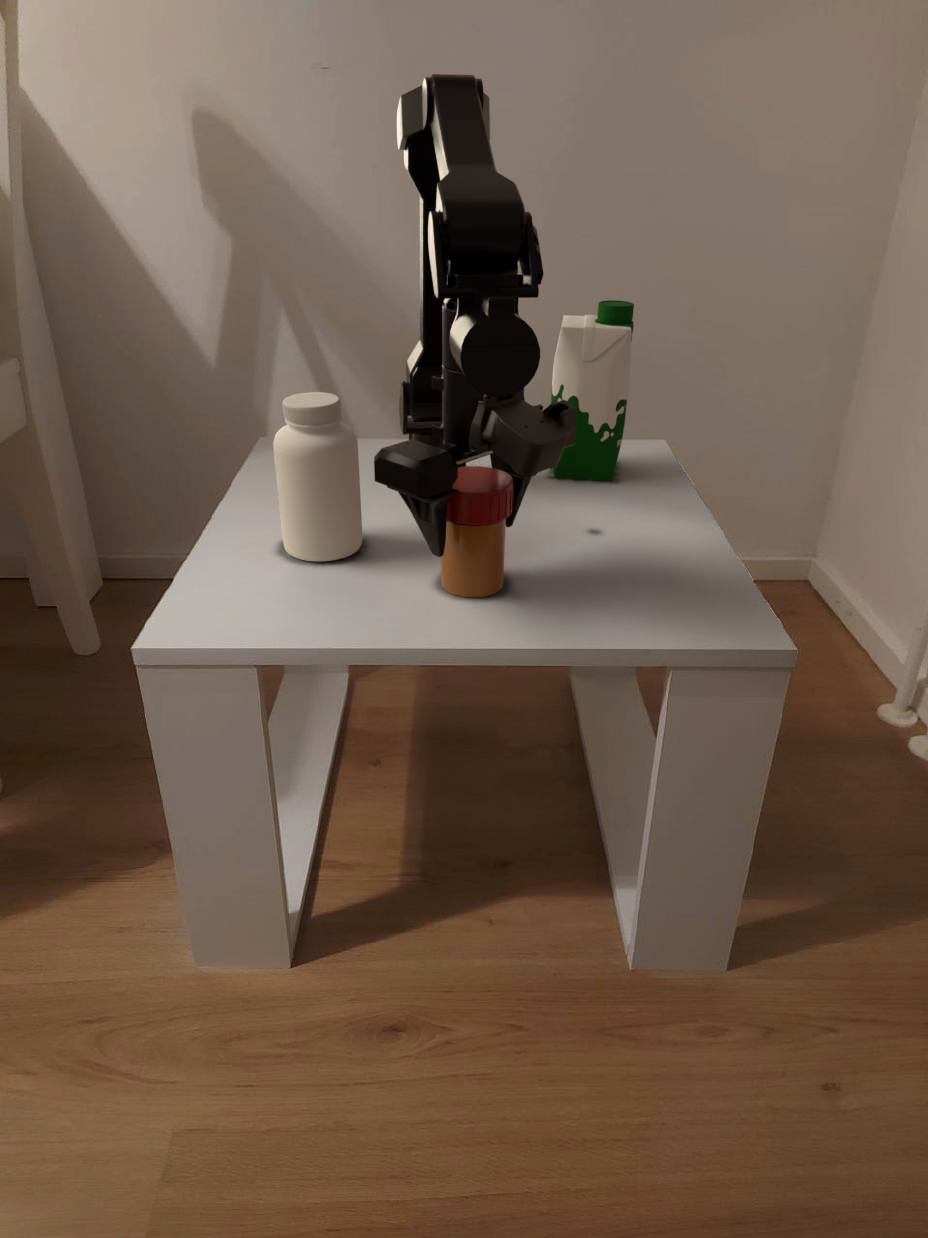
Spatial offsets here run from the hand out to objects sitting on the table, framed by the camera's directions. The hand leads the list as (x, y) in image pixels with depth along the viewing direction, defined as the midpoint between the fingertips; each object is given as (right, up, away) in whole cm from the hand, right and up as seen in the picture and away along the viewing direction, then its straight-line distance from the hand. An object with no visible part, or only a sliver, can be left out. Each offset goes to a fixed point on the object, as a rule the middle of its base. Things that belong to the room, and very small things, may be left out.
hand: (473, 539), depth 79 cm
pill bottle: (-15, 0, +9) cm, 17 cm away
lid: (0, +3, -1) cm, 3 cm away
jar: (0, -4, +2) cm, 4 cm away
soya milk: (+14, +11, +30) cm, 35 cm away
